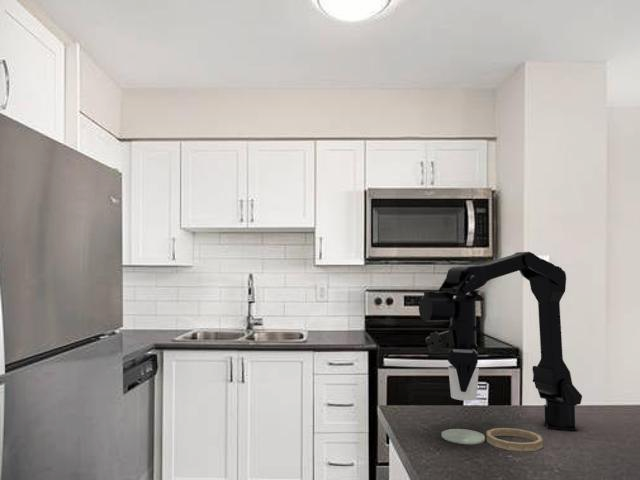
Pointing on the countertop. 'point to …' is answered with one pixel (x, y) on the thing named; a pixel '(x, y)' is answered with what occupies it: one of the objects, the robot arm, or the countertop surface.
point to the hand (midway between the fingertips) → (463, 388)
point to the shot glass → (455, 387)
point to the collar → (514, 445)
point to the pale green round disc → (463, 436)
